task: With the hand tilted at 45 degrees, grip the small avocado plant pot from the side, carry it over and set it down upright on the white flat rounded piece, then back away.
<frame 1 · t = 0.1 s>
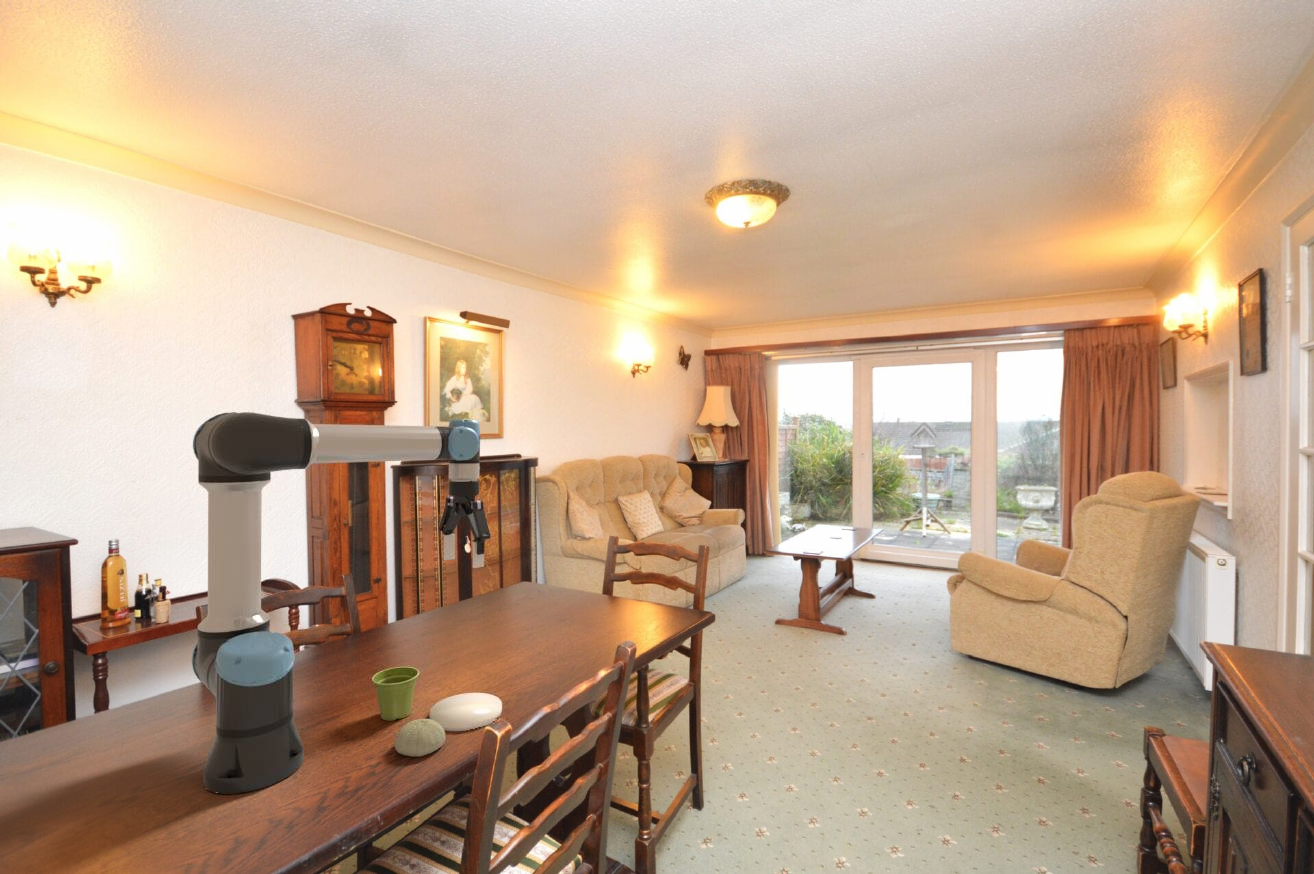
hand: (463, 563, 155), 28 cm above the table, tool pointing down, fingers open, 13 cm apart
white flat rounded piece: (466, 714, 132), on the table
sea urchin shell: (420, 749, 119), on the table
plant pot: (395, 715, 132), on the table
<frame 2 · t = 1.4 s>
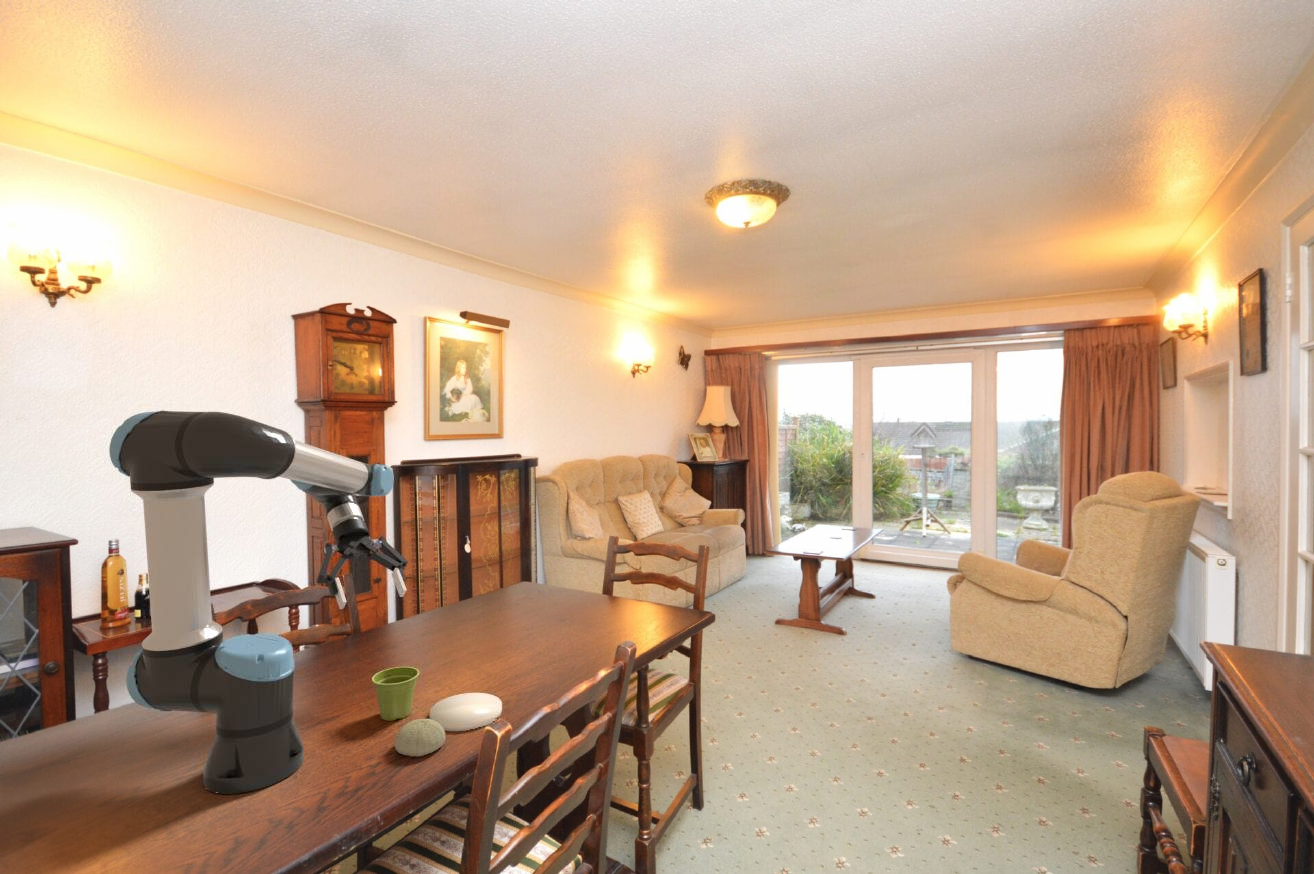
hand: (374, 599, 140), 23 cm above the table, tool tilted 45°, fingers open, 13 cm apart
nothing on the table moved.
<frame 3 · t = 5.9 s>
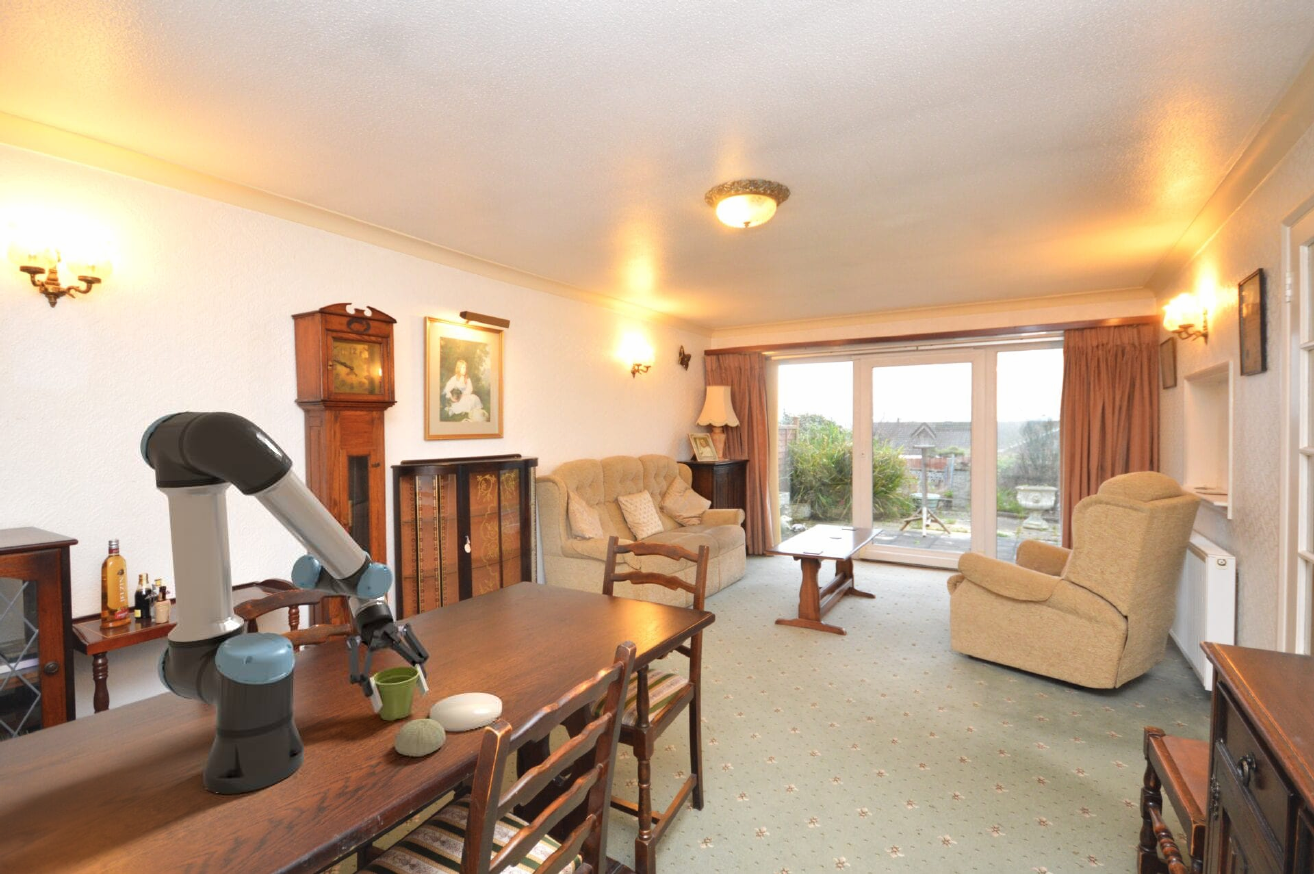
hand: (402, 701, 130), 4 cm above the table, tool tilted 45°, fingers closed on plant pot, 9 cm apart
plant pot: (395, 715, 132), on the table, touching gripper
everything else where it was.
when the fingers open (7 cm above the table, at t = 11.5 s): plant pot drops 1 cm, resting on white flat rounded piece.
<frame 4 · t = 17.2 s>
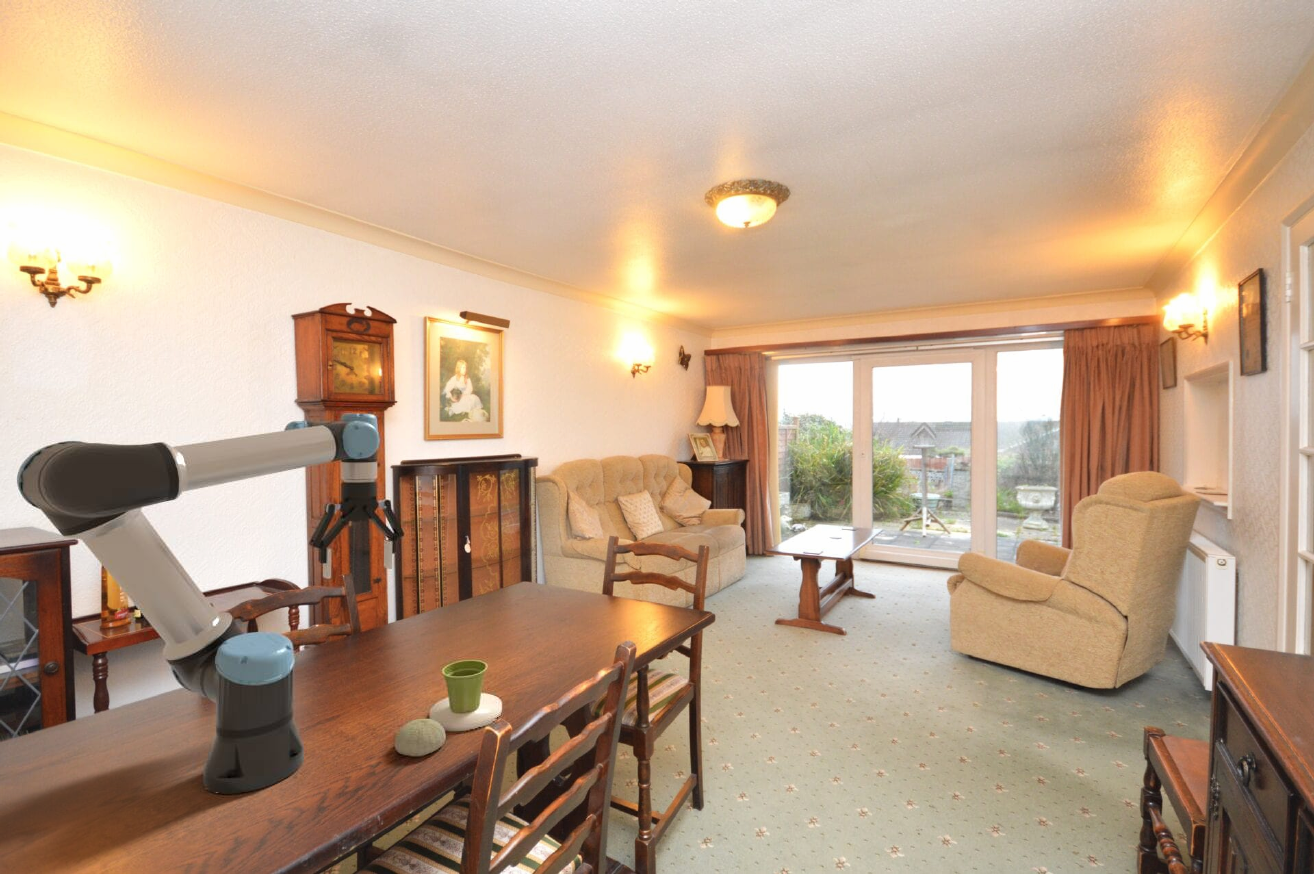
hand: (358, 572, 140), 29 cm above the table, tool pointing down, fingers open, 13 cm apart
plant pot: (464, 708, 132), point 1 cm above the table, touching white flat rounded piece
everything else where it was.
at the end: plant pot inside the target area on the white flat rounded piece (0.4 cm from its centre), point 1.3 cm above the white flat rounded piece's base; plant pot tilted 0°; the gripper is holding nothing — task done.
